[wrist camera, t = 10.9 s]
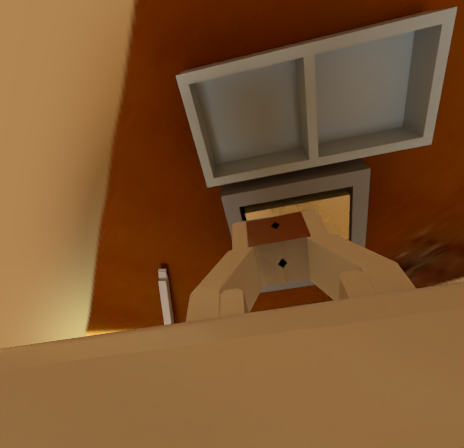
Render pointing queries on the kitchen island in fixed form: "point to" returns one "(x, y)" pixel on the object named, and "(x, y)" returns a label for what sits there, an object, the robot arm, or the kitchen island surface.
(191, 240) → the kitchen island surface
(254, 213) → the button
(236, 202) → the square frame
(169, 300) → the caliper
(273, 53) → the tray
